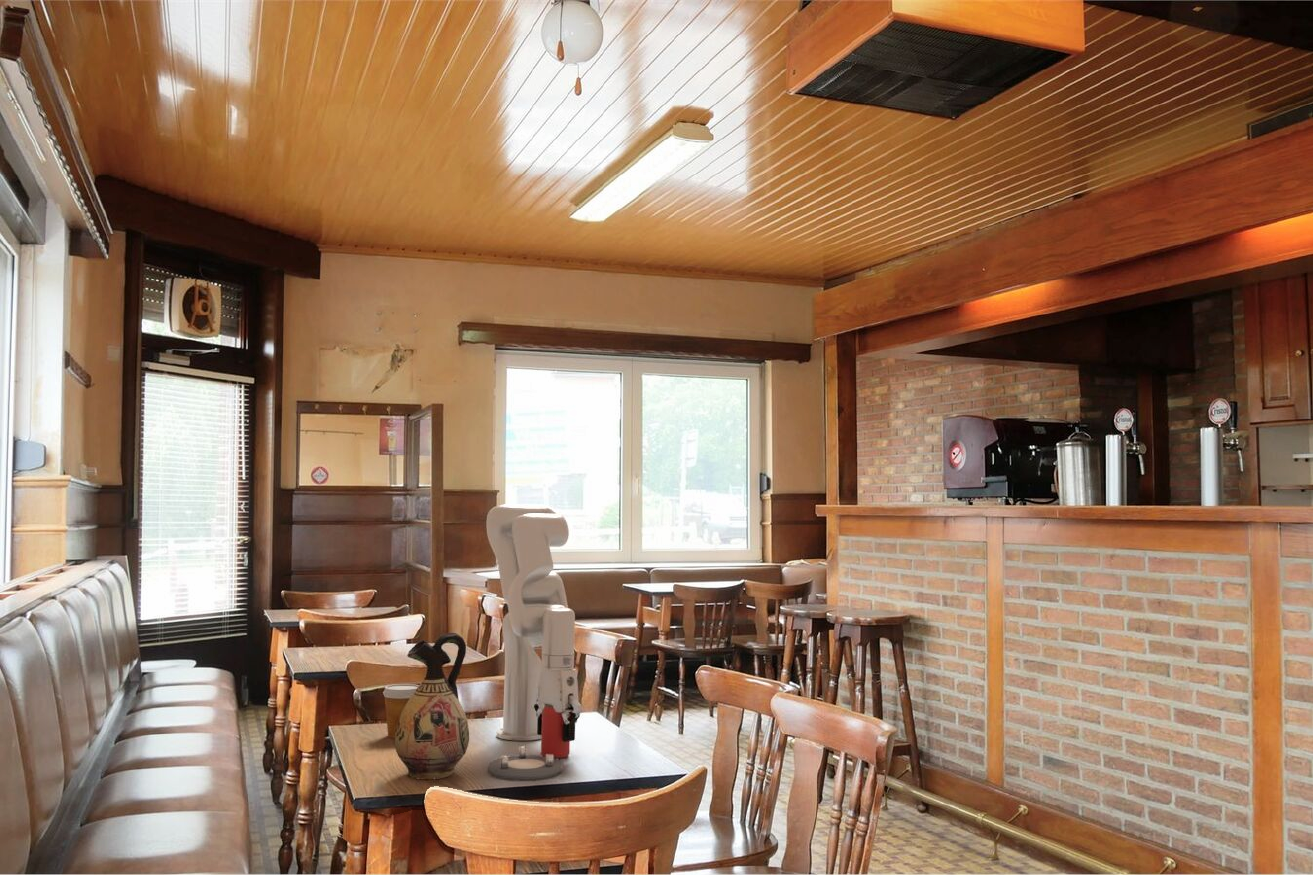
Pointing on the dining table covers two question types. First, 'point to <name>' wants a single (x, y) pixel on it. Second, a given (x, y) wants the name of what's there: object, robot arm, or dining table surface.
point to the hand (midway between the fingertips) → (555, 737)
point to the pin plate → (525, 768)
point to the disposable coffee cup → (396, 704)
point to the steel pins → (522, 756)
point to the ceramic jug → (434, 715)
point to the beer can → (553, 734)
